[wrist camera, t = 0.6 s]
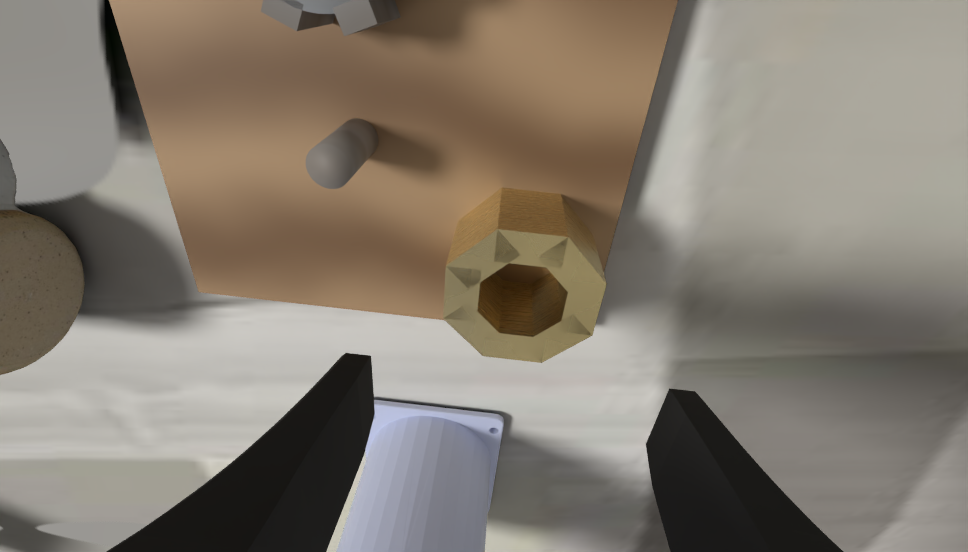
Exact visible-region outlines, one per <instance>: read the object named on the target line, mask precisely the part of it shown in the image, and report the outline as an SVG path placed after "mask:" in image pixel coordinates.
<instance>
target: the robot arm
mask: <svg viewBox="0 0 968 552" xmlns="http://www.w3.org/2000/svg"><path fill="white" fill-rule="evenodd" d="M503 426H504V418H503V417H502V416H501V415H499V414H493V413H485V412H476V411H468V410H459V409H451V408H442V407H433V406H425V405H416V404H408V403H399V402H390V401H382V400H374V394H373V380H372V365H371V356H368V355H359V354H349V353H346V354H344V355H343V356H341V358H340V359H339V360H338V361H337V362H336V363H335V364H334V365H333V366H332V367H331V368H330V370H329V371H328V372H327V373H326V374H325V375H324V376H323V377H322V378H321V379H320V380H319V381H318V382H317V383H316V384H315V385H314V386H313V388H312V389H311V390H310V391H309V392H308V393H307V394H306V395H305V396H304V397H303V398H302V399H301V400H300V401H299V402H298V403H297V404H296V405H295V406H294V407H293V408H292V409H291V410H290V411H288V412H287V413H286V414H285V415H284V416H283V417H282V418H281V419H280V420H279V421H278V422H277V423H276V424H275V425H274V426H273V427H272V428H271V429H269V430H268V431H267V432H266V433H265V434H264V435H263V436H262V437H260V438H259V439H258V440H257V441H256V442H255V443H254V444H253V445H252V446H250V447H249V448H248V449H247V450H246V451H245V452H244V453H242V454H241V455H240V456H239V457H238V458H236V459H235V460H234V461H233V462H232V463H230V464H229V465H228V466H227V467H226V468H224V469H223V470H222V471H221V472H219V473H218V474H217V475H216V476H214V477H213V478H212V479H210V480H209V481H208V482H207V483H205V484H204V485H203V486H201V487H200V488H199V489H197V490H196V491H195V492H193V493H192V494H191V495H189V496H188V497H186V498H185V499H184V500H182V501H181V502H180V503H178V504H177V505H175V506H174V507H173V508H171V509H170V510H169V511H167V512H166V513H164V514H163V515H162V516H160V517H159V518H157V519H156V520H154V521H153V522H151V523H150V524H149V525H147V526H146V527H144V528H143V529H141V530H140V531H138V532H137V533H135V534H133V535H132V536H130V537H129V538H127V539H126V540H124V541H122V542H121V543H119V544H118V545H116V546H115V547H113V548H111V549H110V550H108V551H107V552H326V551H327V548H328V545H329V543H330V540H331V537H332V535H333V532H334V530H335V527H336V525H337V522H338V520H339V517H340V515H341V512H342V509H343V507H344V504H345V502H346V499H347V497H348V494H349V492H350V489H351V487H352V484H353V481H354V479H355V476H356V474H357V471H358V469H359V466H360V463H361V461H362V458H363V455H364V452H365V450H366V463H365V466H364V469H363V472H362V475H361V478H360V481H359V484H358V487H357V490H356V493H355V496H354V499H353V502H352V505H351V508H350V511H349V514H348V517H347V520H346V524H345V527H344V530H343V533H342V536H341V539H340V542H339V545H338V548H337V551H336V552H485V539H486V525H487V512H489V510H490V504H491V498H492V492H493V486H494V480H495V474H496V468H497V462H498V456H499V450H500V444H501V438H502V432H503ZM646 447H647V454H648V461H649V468H650V474H651V480H652V486H653V490H654V494H655V498H656V501H657V505H658V508H659V512H660V516H661V519H662V523H663V526H664V530H665V533H666V537H667V540H668V544H669V547H670V551H671V552H843V551H842V550H841V549H840V548H839V547H838V546H837V545H836V544H835V543H833V542H832V541H831V540H830V539H829V538H828V537H827V536H826V535H825V534H824V533H823V532H822V531H821V530H820V529H819V528H818V527H817V526H816V525H815V524H814V523H813V522H812V521H811V520H810V519H809V518H808V517H807V516H806V515H805V514H804V513H803V512H802V511H801V510H800V509H799V508H798V507H797V506H796V505H795V504H794V503H793V502H792V501H791V500H790V499H789V498H788V497H787V496H786V495H785V493H784V492H783V491H782V490H781V489H780V488H779V487H778V486H777V485H776V484H775V483H774V482H773V481H772V479H771V478H770V477H769V476H768V475H767V474H766V473H765V472H764V471H763V470H762V468H761V467H760V466H759V465H758V464H757V463H756V462H755V461H754V459H753V458H752V457H751V456H750V455H749V454H748V453H747V451H746V450H745V449H744V448H743V447H742V446H741V445H740V443H739V442H738V441H737V440H736V439H735V438H734V436H733V435H732V434H731V433H730V432H729V431H728V429H727V428H726V427H725V426H724V425H723V423H722V422H721V421H720V420H719V419H718V418H717V416H716V415H715V414H714V413H713V412H712V410H711V409H710V408H709V407H708V406H707V405H706V403H705V402H704V401H703V400H702V399H701V398H700V397H699V395H698V394H697V393H696V392H695V391H686V390H677V389H669V391H668V393H667V396H666V398H665V400H664V403H663V405H662V408H661V410H660V412H659V415H658V417H657V419H656V422H655V424H654V427H653V429H652V431H651V434H650V436H649V438H648V441H647V443H646Z"/></svg>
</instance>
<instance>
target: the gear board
mask: <svg viewBox="0 0 968 552" xmlns="http://www.w3.org/2000/svg"><path fill="white" fill-rule="evenodd" d="M109 1H110V4H111V8H112V11H113V14H114V17H115V21H116V24H117V27H118V30H119V34H120V37H121V40H122V43H123V47H124V50H125V53H126V57H127V60H128V63H129V66H130V70H131V73H132V76H133V79H134V83H135V86H136V89H137V92H138V96H139V99H140V102H141V105H142V109H143V112H144V115H145V118H146V122H147V125H148V128H149V131H150V135H151V138H152V141H153V145H154V148H155V151H156V154H157V158H158V161H159V164H160V167H161V171H162V174H163V177H164V180H165V184H166V187H167V190H168V193H169V197H170V200H171V203H172V206H173V210H174V213H175V216H176V220H177V223H178V226H179V229H180V233H181V236H182V239H183V242H184V246H185V249H186V252H187V255H188V259H189V262H190V265H191V268H192V272H193V275H194V278H195V281H196V285H197V288H198V291H199V292H203V293H211V294H220V295H229V296H238V297H247V298H255V299H264V300H273V301H282V302H290V303H299V304H308V305H317V306H326V307H334V308H343V309H352V310H361V311H369V312H378V313H387V314H396V315H404V316H413V317H422V318H431V319H440V320H444V319H443V312H444V291H445V271H446V263H447V259H448V256H449V252H450V249H451V245H452V241H453V238H454V234H455V230H456V227H457V223H458V220H459V219H461V218H462V217H463V216H465V215H466V214H467V213H469V212H470V211H471V210H473V209H474V208H475V207H477V206H478V205H479V204H481V203H482V202H483V201H485V200H486V199H487V198H489V197H490V196H491V195H493V194H494V193H495V192H497V191H498V190H499V189H501V188H511V189H520V190H529V191H538V192H548V193H557V194H561V195H562V196H563V198H564V199H565V200H566V201H567V203H568V204H569V205H570V207H571V208H572V209H573V210H574V212H575V213H576V214H577V215H578V217H579V218H580V219H581V221H582V222H583V223H584V224H585V226H586V227H587V228H588V229H589V231H590V232H591V233H592V235H593V237H594V240H595V244H596V247H597V251H598V255H599V258H600V262H601V265H602V269H603V273H604V270H605V266H606V262H607V259H608V255H609V251H610V248H611V244H612V240H613V237H614V233H615V229H616V226H617V222H618V218H619V215H620V211H621V207H622V204H623V200H624V196H625V193H626V189H627V185H628V182H629V178H630V174H631V171H632V167H633V163H634V160H635V156H636V152H637V149H638V145H639V141H640V138H641V134H642V130H643V127H644V123H645V119H646V116H647V112H648V108H649V105H650V101H651V97H652V94H653V90H654V86H655V83H656V79H657V75H658V72H659V68H660V64H661V60H662V57H663V53H664V49H665V46H666V42H667V38H668V35H669V31H670V27H671V24H672V20H673V16H674V13H675V9H676V5H677V2H678V0H109ZM495 273H496V274H497V275H498V276H499V277H500V278H501V279H502V280H503V281H509V282H518V283H527V284H533V283H534V282H536V281H537V280H539V279H540V278H542V277H544V276H545V275H547V274H548V273H550V271H549V270H548V269H547V268H546V267H538V266H529V265H520V264H511V263H508V264H507V265H505V266H504V267H502V268H501V269H499V270H498V271H496V272H495Z"/></svg>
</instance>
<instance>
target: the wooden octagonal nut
mask: <svg viewBox="0 0 968 552" xmlns="http://www.w3.org/2000/svg"><path fill="white" fill-rule="evenodd" d="M508 263H511V264H520V265H529V266H538V267H546V268H547V269H548V270H549V271H550V273H548V274H547V275H545V276H544V277H542V278H540V279H539V280H537V281H536V282H534V283H533V284H527V283H518V282H509V281H503V280H502V279H501V278H500V277H499V276H498V275H497V274H496V273H495V272H496V271H498V270H499V269H501V268H502V267H504V266H505V265H507V264H508ZM606 285H607V283H606V280H605V276H604V273H603V269H602V265H601V262H600V258H599V255H598V251H597V247H596V244H595V240H594V237H593V235H592V233H591V232H590V231H589V229H588V228H587V227H586V226H585V224H584V223H583V222H582V221H581V219H580V218H579V217H578V215H577V214H576V213H575V212H574V210H573V209H572V208H571V207H570V205H569V204H568V203H567V201H566V200H565V199H564V198H563V196H562V195H561V194H557V193H548V192H538V191H529V190H520V189H511V188H501V189H499V190H498V191H497V192H495V193H494V194H493V195H491V196H490V197H489V198H487V199H486V200H485V201H483V202H482V203H481V204H479V205H478V206H477V207H475V208H474V209H473V210H471V211H470V212H469V213H467V214H466V215H465V216H463V217H462V218H461V219H459V220H458V223H457V227H456V230H455V234H454V238H453V241H452V245H451V249H450V252H449V256H448V259H447V263H446V271H445V291H444V312H443V319H444V320H445V321H446V322H447V323H448V324H450V325H451V326H452V327H453V328H454V329H455V330H456V331H457V332H458V333H459V334H460V335H461V336H462V337H463V338H464V339H465V340H466V341H468V342H469V343H470V344H471V345H472V346H473V347H474V348H475V349H476V350H477V351H478V352H479V353H480V354H481V355H482V356H487V357H496V358H505V359H513V360H522V361H531V362H540V363H542V362H544V361H546V360H548V359H550V358H551V357H553V356H555V355H557V354H559V353H561V352H563V351H564V350H566V349H568V348H570V347H572V346H574V345H576V344H577V343H579V342H581V341H583V340H585V339H587V338H589V337H590V336H592V335H593V331H594V327H595V324H596V320H597V317H598V313H599V310H600V306H601V303H602V299H603V295H604V292H605V288H606Z"/></svg>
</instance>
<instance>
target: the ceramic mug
mask: <svg viewBox="0 0 968 552" xmlns="http://www.w3.org/2000/svg"><path fill="white" fill-rule="evenodd" d="M15 194H16V175H15V173H14V170H13V168H12V163H11V160H10V158H9V152H8V151H7V149H6V147H5V146H4V144H3V142H2V141H1V139H0V375H1V374H5V373H9V372H12V371H15V370H18V369H21V368H24V367H26V366H27V365H29V364H31V363H33V362H35V361H37V360H38V359H40V358H41V357H42V356H44V355H45V354H46V353H48V352H49V351H51V350H52V349H53V348H54V347H55V346H56V345H57V344H58V343H59V342H60V341H61V340H62V339H63V337H64V336H65V335H66V333H67V332H68V331H69V329H70V327H71V325H72V324H73V322H74V320H75V319H76V316H77V314H78V312H79V309H80V307H81V303H82V298H83V293H84V284H85V281H84V273H83V266H82V262H81V260H80V257H79V255H78V252H77V250H76V248H75V246H74V245H73V244H72V243H71V241H70V240H69V239H68V237H67V236H66V235H65V233H64V232H63V231H61V230H60V229H59V228H58V227H57V226H55V225H54V224H52V223H50V222H49V221H47V220H45V219H44V218H42V217H38V216H35V215H32V214H29V213H26V212H24V211H21V210H20V209H19V208H17V207H16V206H15Z"/></svg>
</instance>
